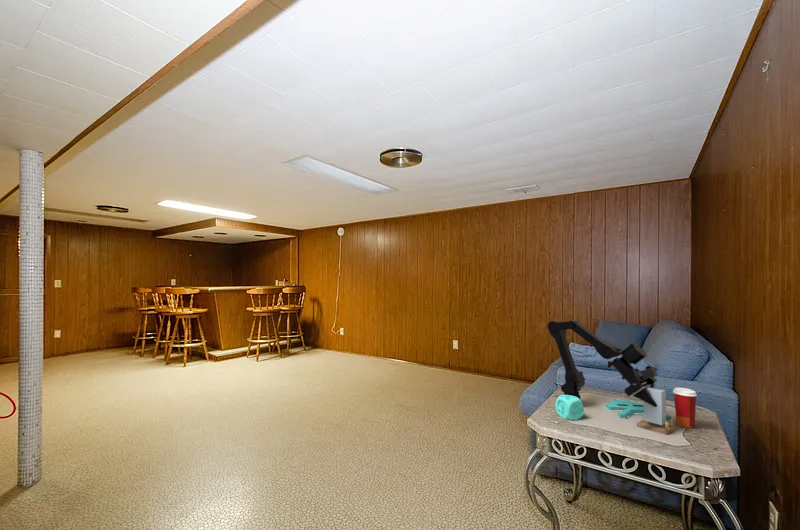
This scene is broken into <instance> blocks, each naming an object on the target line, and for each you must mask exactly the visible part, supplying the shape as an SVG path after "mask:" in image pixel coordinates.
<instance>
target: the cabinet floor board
mask: <svg viewBox="0 0 800 530" xmlns="http://www.w3.org/2000/svg"><path fill="white" fill-rule="evenodd" d="M636 427H638V428H642V429H645V430H649V431H652V432H656V433H659V434H664V435H669V434H670V433H672V432H673V431H674V430H675V426H674V419H673V418H672V419H669V421H665V424H663V425H659V424H655V423H652V422H648V421H645V420H644V418H643V419H642V420H639V421H638V422H636Z"/></svg>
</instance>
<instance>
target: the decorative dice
mask: <svg viewBox="0 0 800 530" xmlns="http://www.w3.org/2000/svg"><path fill="white" fill-rule="evenodd" d="M554 405H555V406H554V407H555V410H556V412H557V414H558V416H559V417H560V418H562V419H564V418H565V420H568V419H569V420H568V421H578V419H579V420H580V419H581V418H582V417H583V415H584V412H585V407H584V403H583V401H582V400H580V399H579V398H578V397H575V396H571V395H564V394H561V395H559V396H558V397H557V398H556V400H555V403H554Z"/></svg>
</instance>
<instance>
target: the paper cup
mask: <svg viewBox="0 0 800 530" xmlns="http://www.w3.org/2000/svg"><path fill="white" fill-rule="evenodd" d="M672 393H673V399H674V401H673V402H674V410H675V419H676V424H677V425H678V427H682V428H685V429H695V424H696V409H697V408H696V405H697V404H696V403H697V396H698V395H697V393H696V391H694V390H693V389H691V388H684V387H675V388H674V389H673V390H672Z"/></svg>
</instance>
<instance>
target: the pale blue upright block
mask: <svg viewBox="0 0 800 530" xmlns="http://www.w3.org/2000/svg"><path fill="white" fill-rule="evenodd" d="M648 393H649V394H650V396H651V397H652V398H653V400H654V401H655V402H656V404H657V406H656V407H654V406H652V405H650V404H648V403H647V402H645V401H643V404H644V414H643V419H644V420H645V421H648V422H652V423H655V424H659V425H663V424H665V421H666V414H667V410H666V409H667V407H666V406H667V401H666V399H667V398H666V396H667V395H666V393H667V392H666V389H661V388H657V387H655V388H653V387H648Z"/></svg>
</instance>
